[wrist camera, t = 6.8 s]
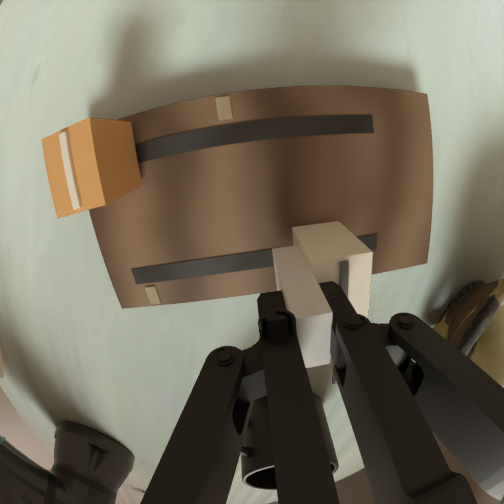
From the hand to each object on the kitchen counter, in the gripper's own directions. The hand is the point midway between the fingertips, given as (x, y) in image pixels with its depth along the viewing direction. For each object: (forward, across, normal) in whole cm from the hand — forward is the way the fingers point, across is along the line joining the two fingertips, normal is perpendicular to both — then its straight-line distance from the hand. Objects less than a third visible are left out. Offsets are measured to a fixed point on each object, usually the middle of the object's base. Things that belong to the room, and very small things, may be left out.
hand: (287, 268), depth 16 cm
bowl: (+4, +21, -11) cm, 24 cm away
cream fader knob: (+2, +2, 0) cm, 3 cm away
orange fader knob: (+2, -9, +8) cm, 12 cm away
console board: (+4, 0, +4) cm, 6 cm away
